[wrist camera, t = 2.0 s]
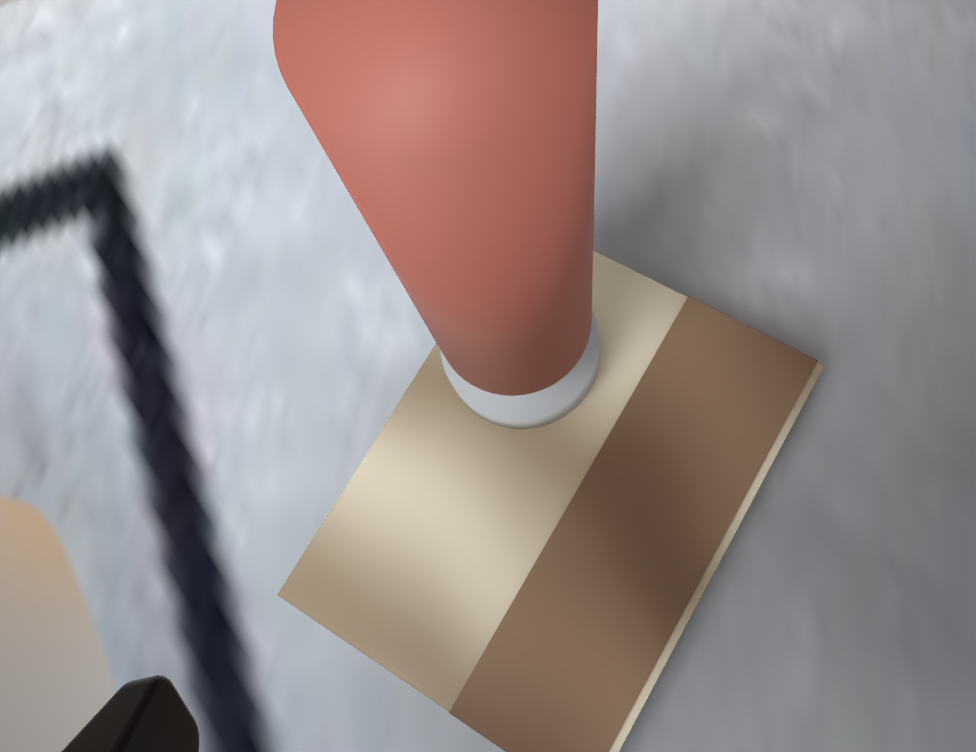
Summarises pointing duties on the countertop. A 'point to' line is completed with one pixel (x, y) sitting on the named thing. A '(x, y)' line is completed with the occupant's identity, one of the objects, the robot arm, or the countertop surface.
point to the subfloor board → (557, 523)
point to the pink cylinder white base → (468, 176)
